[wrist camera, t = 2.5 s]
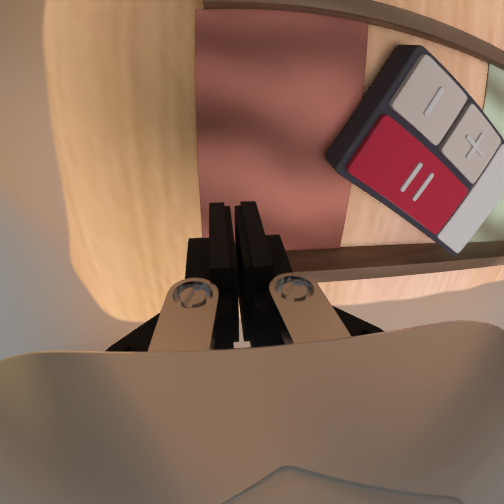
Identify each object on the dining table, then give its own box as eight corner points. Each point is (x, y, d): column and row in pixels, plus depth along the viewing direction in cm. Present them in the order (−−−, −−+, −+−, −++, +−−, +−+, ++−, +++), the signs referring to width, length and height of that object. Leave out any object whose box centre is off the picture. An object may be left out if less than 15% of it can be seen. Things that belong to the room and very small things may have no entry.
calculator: (426, 42, 14) (527, 169, 19) (395, 42, 18) (498, 152, 23) (336, 175, 19) (459, 263, 24) (319, 155, 23) (437, 237, 28)
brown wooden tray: (195, -6, 15) (192, -16, 13) (552, 87, 18) (571, 95, 16) (205, 265, 27) (204, 288, 25) (508, 248, 30) (522, 262, 28)
